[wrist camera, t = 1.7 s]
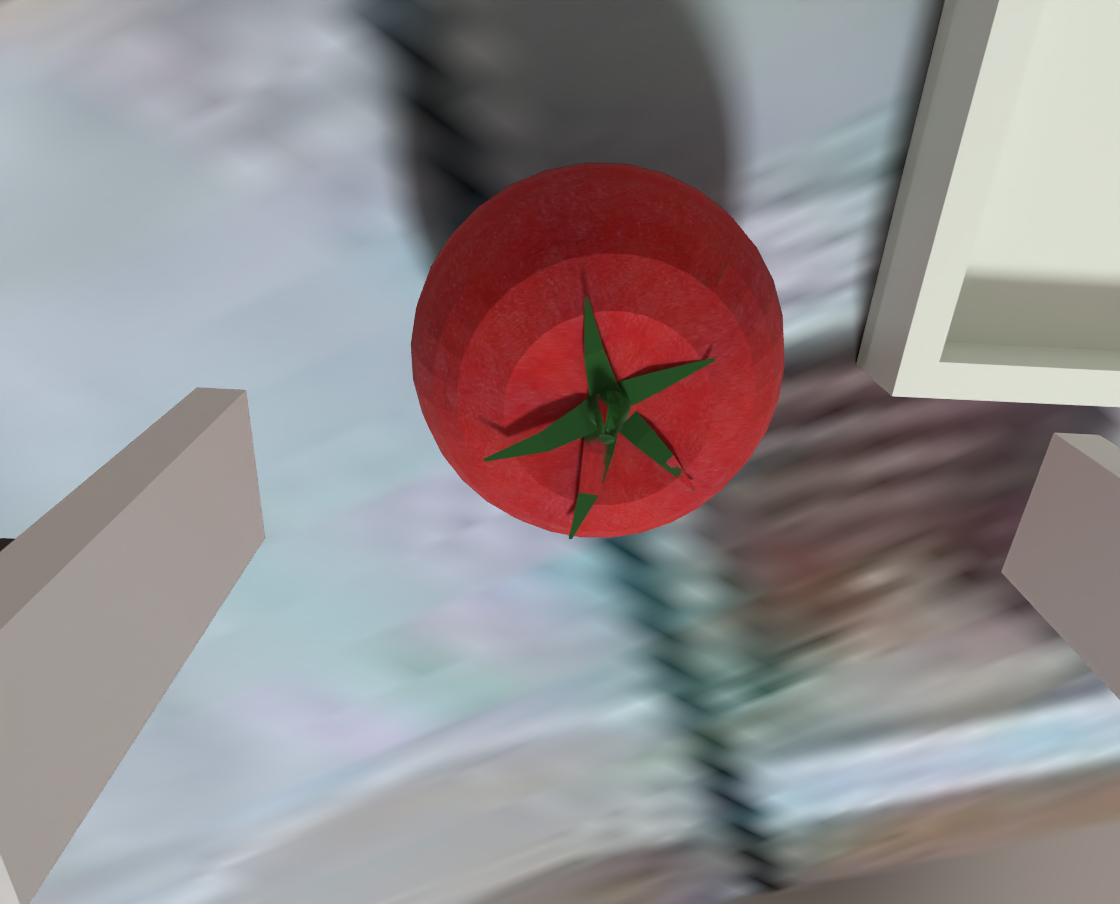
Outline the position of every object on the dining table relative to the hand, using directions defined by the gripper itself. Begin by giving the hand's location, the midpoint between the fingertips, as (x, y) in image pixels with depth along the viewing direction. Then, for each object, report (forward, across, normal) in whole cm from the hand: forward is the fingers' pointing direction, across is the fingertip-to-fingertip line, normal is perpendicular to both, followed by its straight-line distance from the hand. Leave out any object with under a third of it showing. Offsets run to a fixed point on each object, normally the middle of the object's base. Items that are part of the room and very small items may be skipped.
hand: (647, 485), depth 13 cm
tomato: (+10, -1, 0) cm, 10 cm away
